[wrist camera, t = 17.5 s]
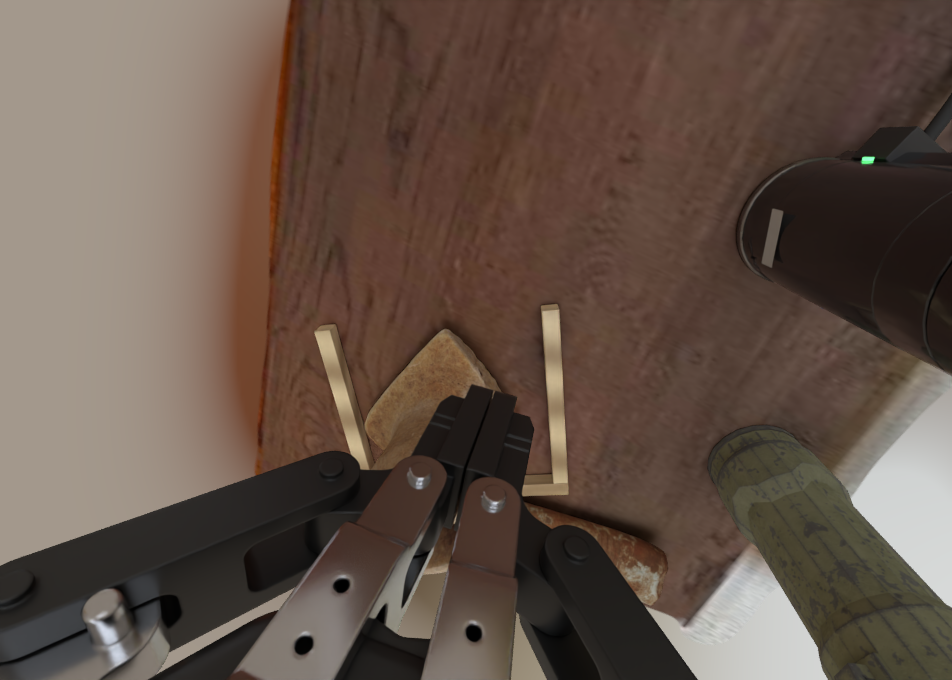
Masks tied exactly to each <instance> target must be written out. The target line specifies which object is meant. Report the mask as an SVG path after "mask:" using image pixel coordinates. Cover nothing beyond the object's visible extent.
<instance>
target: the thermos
mask: <svg viewBox="0 0 952 680" xmlns="http://www.w3.org/2000/svg"><path fill="white" fill-rule="evenodd" d="M708 471H709V474H710V477H711V479H712V481H713V483H714V484H715V485H716V486H717V489H718V492H719V495H720V498H721V500H722V501H723V503H724V505H725V507H726V508H727V510H728V512H729V513H730V515H731V517H732V518H733V520H734V522H735V524H736V525H737V527H738V529H739V530H740V532H741V533H742V534H743V535H744V536H745V537H746V538H747V539H748V540H749V541H750V542H752V543H753V544H754V545H755V546H757V548H758V549H759V551H760V553H761V554H762V556H763V558H764V559H765V561H766V563H767V564H768V566H769V568H770V569H771V571H772V573H773V574H774V576H775V577H776V579H777V581H778V582H779V584H780V586H781V587H782V589H783V591H784V592H785V594H786V596H787V597H788V599H789V600H790V602H791V604H792V606H793V607H794V609H795V610H796V612H797V614H798V615H799V617H800V619H801V620H802V622H803V624H804V625H805V627H806V629H807V630H808V632H809V633H810V635H811V637H812V639H813V640H814V642H815V644H816V645H817V647H818V651H819V657H820V661H821V665H822V669H823V671H824V673H825V675H826V677H827V678H828V680H952V608H951V607H950V606H948V605H946V604H945V603H944V602H943V601H942V600H941V599H940V598H939V597H938V596H937V595H936V593H934V592H933V590H932V589H931V588H930V587H929V586H928V585H927V584H926V583H925V582H924V581H923V580H922V579H921V578H920V576H919V575H918V574H917V573H916V572H915V571H914V570H913V569H912V568H911V567H910V566H909V565H908V564H907V563H906V562H905V561H904V559H903V558H902V557H901V556H900V555H899V554H898V553H897V552H896V551H895V550H894V549H893V548H892V547H891V546H890V545H889V543H888V542H887V541H886V540H885V539H884V538H883V537H882V536H881V535H880V534H879V533H878V532H877V531H876V530H875V529H874V528H873V526H872V525H870V523H869V522H868V521H867V520H866V519H865V518H864V517H863V516H862V515H861V514H860V513H859V512H858V511H857V509H855V507H853V504H852V501H851V498H850V496H849V493H848V491H847V490H846V489H845V487H844V486H843V485H842V483H841V482H840V481H839V480H838V479H837V478H836V477H835V476H834V475H833V474H832V473H831V472H830V471H829V470H828V469H827V468H826V467H825V466H824V465H823V463H822V462H821V461H820V460H819V459H818V458H817V457H816V456H815V455H814V454H813V453H812V452H811V451H810V450H808V449H806V448H804V447H803V446H801V445H800V443H799V442H798V441H797V440H796V438H795V437H794V436H793V435H792V434H791V433H789V432H787V431H785V430H783V429H782V428H779V427H774V426H769V425H759V426H750V427H746V428H743V429H740V430H736V431H735V432H733V433H731V434H729V435H728V436H726V437H724V438H723V439H722V440H721V441H720V442H719V443H718V444H717V445H716V446H715V447H714V449H713V451H712V452H711V454H710V456H709V459H708Z"/></svg>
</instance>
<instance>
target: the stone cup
mask: <svg viewBox="0 0 952 680" xmlns="http://www.w3.org/2000/svg"><path fill="white" fill-rule="evenodd" d="M471 384H473V385H477V386H481V387H484V388H488V389H491V390H494V392H493V395H494V393H495V391H499V392H501V390H500V388H499V387H498V385H497V383H496V381H495V379H494V378H493V377H491V375H490V373H489V372H488V371H487V370H486V368H485V366H484V365H483V363H482V362H480V361H479V360H478V359H477V358H476V356H475V354H474V352H473V351H472V350H471V349H470V348H469V347H468V346H467V345H466V344H464V343H463V341H462V340H461V339H460V338H459V337H457V336H456V335H455V334H453V333H452V332H451V331H450V330H448V329H444V330H442V331H440V332H439V333H438V334H437V335H436V336H435V337H434V338H433V339H432V340H431V341H430V342H429V343H428V344H427V345H426V346H425V347H424V348H423V349H422V350H421V351H420V352H419V353H418V354H417V355H416V356H415V357H414V358H413V360H412V361H411V362H410V363H409V364H408V366H407V367H406V368H405V369H404V370H403V371H402V372H401V373H400V375H399V376H398V377H397V378H396V379H395V380H394V381H393V382H392V384H391V385H390V386H389V387H388V388H387V389H386V391H385V392H384V393H383V395H382V396H381V397H380V399H379V400H378V401H377V402H376V404H375V405H374V406H373V407H372V409H371V410H370V412H369V414H368V416H367V419H366V422H365V425H364V428H365V431H366V433H367V435H368V436H369V437H370V438H371V439H372V440H373V441H374V442H375V443H376V444H377V445H378V446H379V447H380V448H381V449H382V450H383V451H384V452H383V453H382V454H381V456H380V457H379V458H378V460H377V461H376V463H375V464H374V466H373V467H372V469H371V470H387V469H392V468H394V467H395V466H396V464H397V463H398V462H399V461H401V460H402V459H404V458H406V457H409V456H411V454H412V453H413V451H414V449H415V447H416V445H417V443H418V442H419V440H420V438H421V436H422V434H423V433H424V431H425V429H426V427H427V425H428V424H429V422H430V420H431V418H432V416H433V415H434V413H435V411H436V409H437V407H438V405H439V403H440V402H441V401H443V400H444V399H446V398H447V397H449V396H450V395H454V396H458V397H461V398H465V397H466V395H467V393H468V390H469V388H470V386H471ZM492 398H493V397H492ZM457 512H458V511H457ZM456 516H457V514H456ZM455 521H456V517H455V520H454V523H453V526H452V529H448V528H445V527H443V528H442V530H441V533H440V536H439V538H438V541H437V543H436V545H435V546H434V551H433V554H432V556H431V558H430V560H429V562H428V565H427V567H426V569H425V571H424V573H423V574H438V573H441V572H447V569H448V565H449V561H450V558H451V554H452V550H453V546H454V542H455V538H456V533H457V531H455V530H454V526H455Z"/></svg>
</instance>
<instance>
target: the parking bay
mask: <svg viewBox="0 0 952 680" xmlns="http://www.w3.org/2000/svg"><path fill="white" fill-rule="evenodd" d="M541 319H542V334H543V348H544V363H545V377H546V391H547V406H548V420H549V435H550V449H551V464H552V474H544V475H525V479H524V484H523V489H522V496H541V495H568V494H569V490H568V471H567V451H566V432H565V412H564V392H563V373H562V353H561V333H560V314H559V307H558V304H552V305H542V306H541ZM314 332H315V336H316V339H317V342H318V346H319V349H320V352H321V356H322V359H323V362H324V366H325V369H326V372H327V375H328V379H329V382H330V385H331V389H332V392H333V395H334V399H335V402H336V405H337V409H338V412H339V415H340V419H341V422H342V425H343V429H344V432H345V435H346V439H347V442H348V445H349V448H350V452H351V455H352V456H353V457H354V458H356V460H357V461H358V462H359V464H360V469H364V470H371V469H372V467H373V466H374V461H373V457H372V453H371V450H370V446H369V443H368V439H367V435H366V432H365V428H364V425H363V421H362V417H361V414H360V410H359V407H358V403H357V399H356V396H355V392H354V388H353V385H352V381H351V378H350V374H349V370H348V367H347V363H346V360H345V356H344V352H343V349H342V345H341V342H340V338H339V334H338V331H337V327H336V324H332V325H321V326H320V327H319V328H318V329H317V330H316V331H314Z"/></svg>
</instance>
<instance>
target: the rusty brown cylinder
mask: <svg viewBox="0 0 952 680" xmlns="http://www.w3.org/2000/svg"><path fill="white" fill-rule="evenodd" d="M524 503H525V506H526V507H527V509H528V510H529V511H530V513H531V514H532V515H533V516H534V517H535V518H536V519H538V520H539V521H541V522H542V523H544V524H545V525H547V526H548V527H550V528H552V529H553V528H554V527H557V526H560V525H572V526H576V527H579V528H581V529H583V530H585V531H587V532H588V533H589V534H591V535H592V536H593V537H594V538H595V539H596V540H597V541H598V542H599V544H600V545H601V547H602V548H603V549H604V551H605V552H606V553H607V555H608V556H609V558H610V559H611V560H612V562H613V563H614V565H615V566H616V567H617V569H618V570H619V571H620V573H621V574H622V576H623V577H624V578H625V580H626V581H627V583H628V584H629V585H630V587H631V588H632V590H633V591H634V592H635V594H636V595H637V596H638V598H639V599H640V601H641V602H643V603H645V604H648V605H653V604H655V602H656V601H657V600H658V599H659V597H660V596H661V591H662V588H663V582H664V577H665V574H666V573H667V571H668V562H667V557H666V555H665V553H664V551H662V550H661V549H659V548H658V547H656V546H654V545H653V544H651V543H649V542H647V541H644V540H642V539H640V538H637V537H635V536H631V535H628V534H626V533H623V532H621V531H618V530H615V529H612V528H609V527H605V526H602V525H599V524H595V523H592V522H589V521H586V520H583V519H580V518H576V517H573V516H569V515H566V514H563V513H560V512H556V511H553V510H550V509H547V508H544V507H540V506H537V505H533V504H530V503H527V502H524Z"/></svg>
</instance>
